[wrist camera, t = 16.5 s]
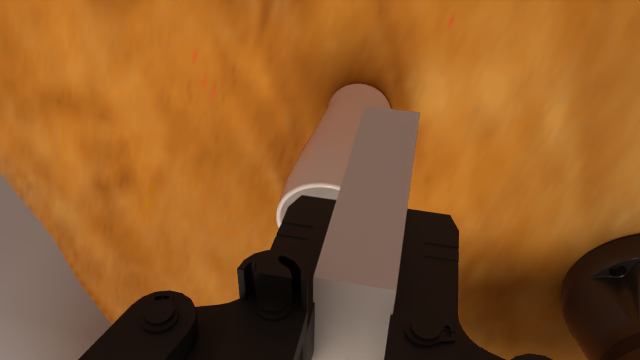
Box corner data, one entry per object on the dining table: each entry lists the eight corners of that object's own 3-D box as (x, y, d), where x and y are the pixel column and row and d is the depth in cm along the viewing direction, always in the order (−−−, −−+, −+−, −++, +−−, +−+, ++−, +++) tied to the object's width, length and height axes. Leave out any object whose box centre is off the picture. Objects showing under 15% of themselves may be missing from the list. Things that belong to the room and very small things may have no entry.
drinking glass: (307, 119, 49) (258, 233, 37) (344, 57, 45) (301, 164, 33) (374, 156, 50) (347, 279, 38) (417, 98, 45) (400, 217, 34)
